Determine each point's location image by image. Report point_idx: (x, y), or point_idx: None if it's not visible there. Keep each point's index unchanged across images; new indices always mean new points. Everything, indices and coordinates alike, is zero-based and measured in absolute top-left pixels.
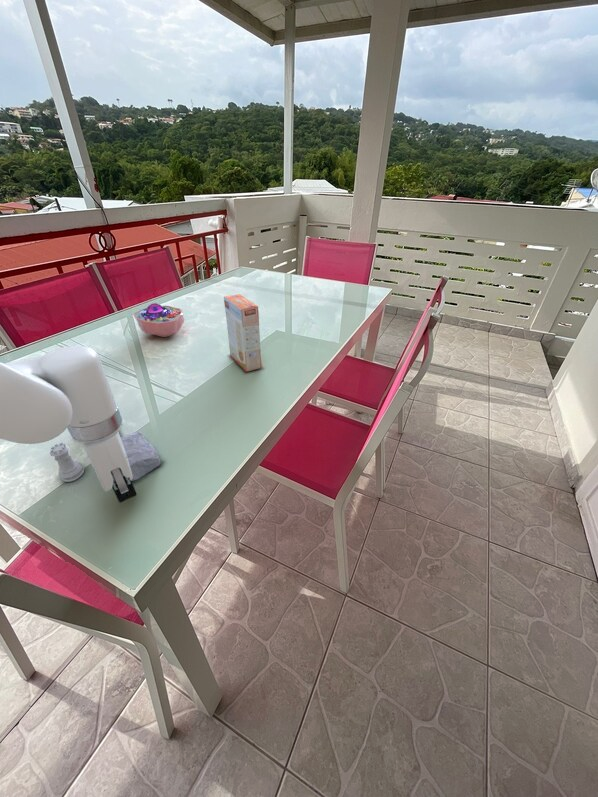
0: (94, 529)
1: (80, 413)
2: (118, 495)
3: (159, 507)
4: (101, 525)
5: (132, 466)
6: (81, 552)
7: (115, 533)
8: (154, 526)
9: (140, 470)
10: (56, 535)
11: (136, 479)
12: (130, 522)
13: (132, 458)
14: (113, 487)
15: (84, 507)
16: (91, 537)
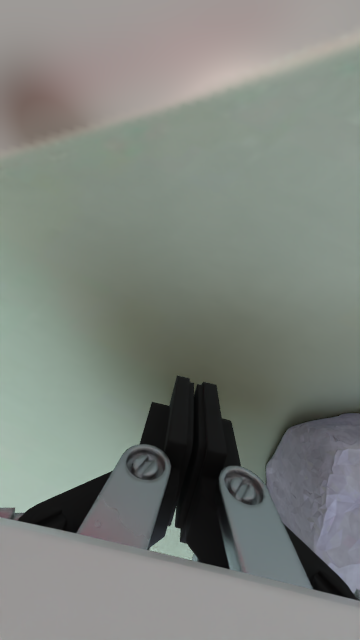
0: (160, 234)
1: None
2: (171, 407)
3: (73, 443)
4: (157, 264)
5: (308, 537)
6: (86, 144)
7: (77, 284)
8: (7, 391)
9: (280, 515)
10: (266, 91)
11: (268, 465)
12: (85, 346)
13: (352, 580)
14: (177, 448)
15: (316, 255)
16: (129, 207)
